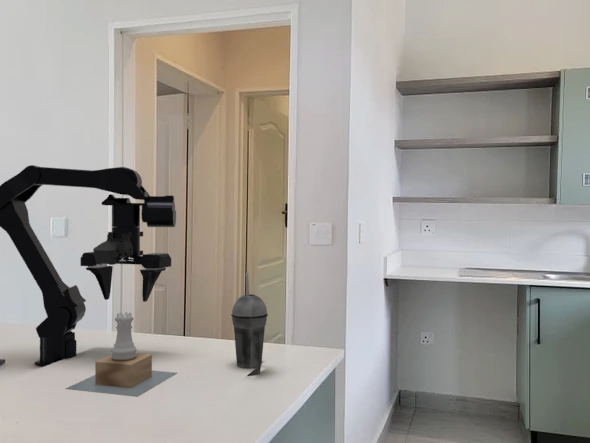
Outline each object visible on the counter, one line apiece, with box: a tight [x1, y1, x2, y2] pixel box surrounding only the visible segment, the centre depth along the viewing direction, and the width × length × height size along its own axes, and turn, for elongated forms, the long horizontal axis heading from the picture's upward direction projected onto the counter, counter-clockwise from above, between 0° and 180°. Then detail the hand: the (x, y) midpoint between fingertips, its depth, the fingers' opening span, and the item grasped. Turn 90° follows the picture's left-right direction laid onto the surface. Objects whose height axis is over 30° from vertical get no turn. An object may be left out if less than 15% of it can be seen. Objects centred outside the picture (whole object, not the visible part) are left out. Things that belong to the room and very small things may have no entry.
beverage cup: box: [231, 272, 268, 377], centre depth 109 cm, size 7×7×20 cm
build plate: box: [64, 370, 178, 398], centre depth 98 cm, size 14×14×2 cm
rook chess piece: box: [111, 312, 138, 361], centre depth 98 cm, size 4×4×8 cm
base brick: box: [94, 353, 153, 388], centre depth 98 cm, size 7×7×4 cm
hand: (125, 300), depth 116 cm, fingers open, 9 cm apart
